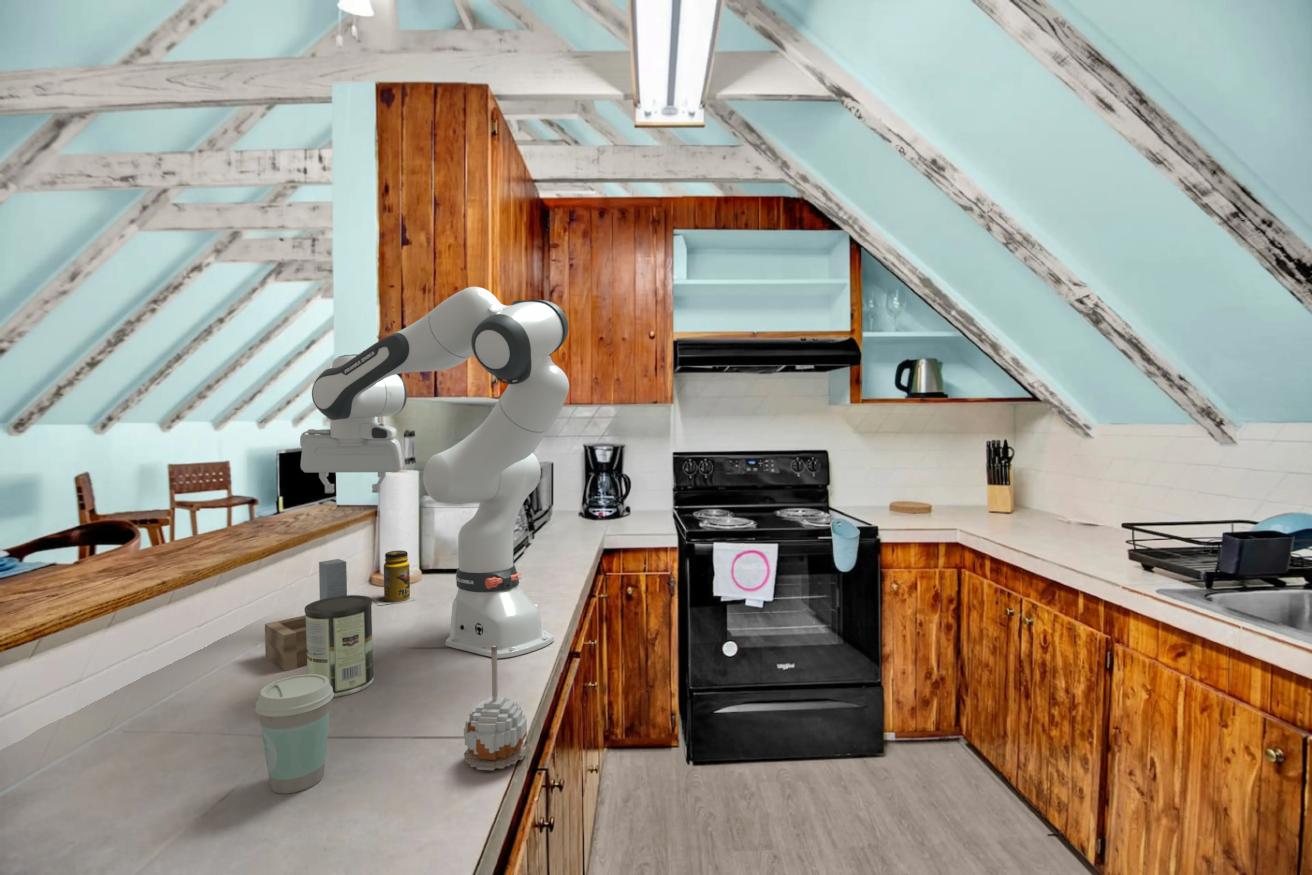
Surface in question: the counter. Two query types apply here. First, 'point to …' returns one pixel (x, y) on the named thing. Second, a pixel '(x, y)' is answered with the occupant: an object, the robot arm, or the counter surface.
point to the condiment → (395, 579)
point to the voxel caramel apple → (495, 730)
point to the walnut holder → (287, 643)
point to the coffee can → (341, 642)
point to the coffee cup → (295, 730)
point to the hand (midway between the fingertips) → (353, 492)
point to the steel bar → (332, 578)
